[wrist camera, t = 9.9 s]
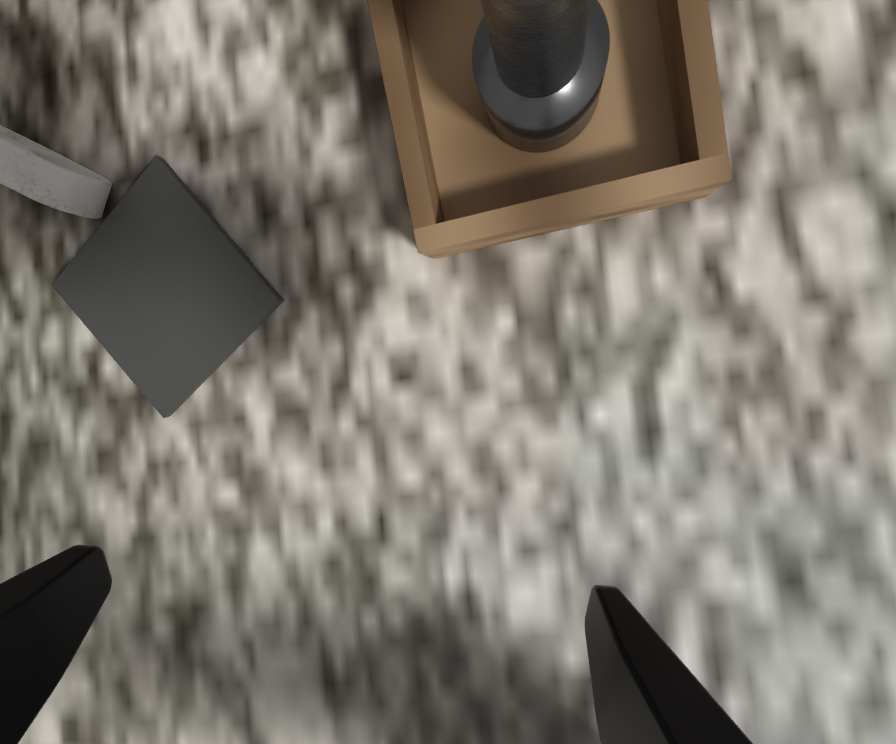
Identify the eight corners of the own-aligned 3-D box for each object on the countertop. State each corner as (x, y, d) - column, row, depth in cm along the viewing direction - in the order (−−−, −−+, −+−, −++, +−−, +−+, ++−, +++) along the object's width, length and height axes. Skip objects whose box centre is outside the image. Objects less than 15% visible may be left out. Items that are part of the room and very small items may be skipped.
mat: (284, 300, 21) (279, 300, 21) (170, 416, 23) (163, 417, 23) (163, 158, 21) (156, 156, 21) (59, 285, 23) (51, 284, 23)
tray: (662, -107, 17) (683, -181, 14) (704, 197, 18) (731, 179, 15) (381, -8, 19) (355, -56, 16) (434, 258, 20) (417, 252, 17)
